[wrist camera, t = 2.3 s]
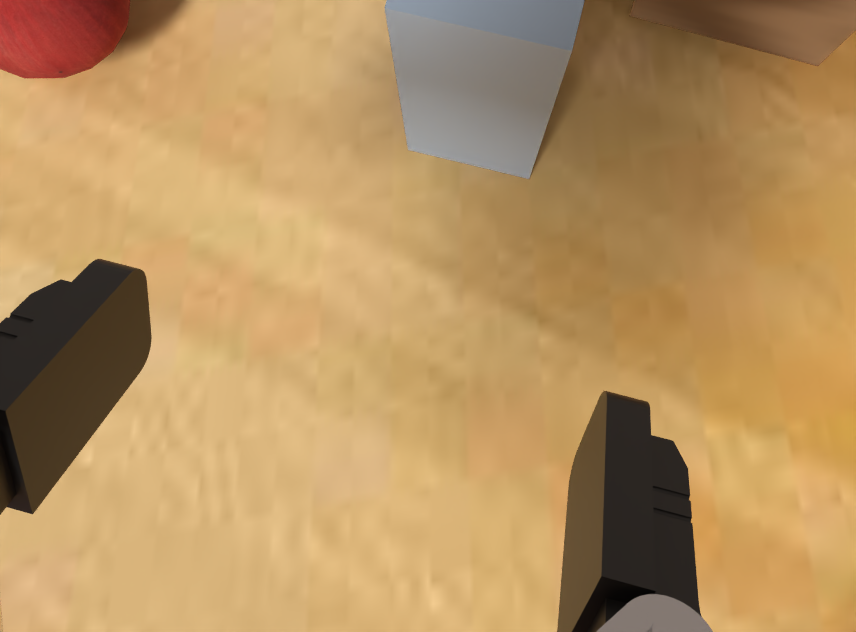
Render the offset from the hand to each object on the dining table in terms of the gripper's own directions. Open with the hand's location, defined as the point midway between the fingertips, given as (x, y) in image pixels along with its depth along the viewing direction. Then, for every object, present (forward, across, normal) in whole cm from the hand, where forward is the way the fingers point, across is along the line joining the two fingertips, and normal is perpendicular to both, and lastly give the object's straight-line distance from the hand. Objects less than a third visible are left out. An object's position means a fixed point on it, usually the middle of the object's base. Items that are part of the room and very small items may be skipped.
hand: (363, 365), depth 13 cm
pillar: (+17, 0, +2) cm, 17 cm away
